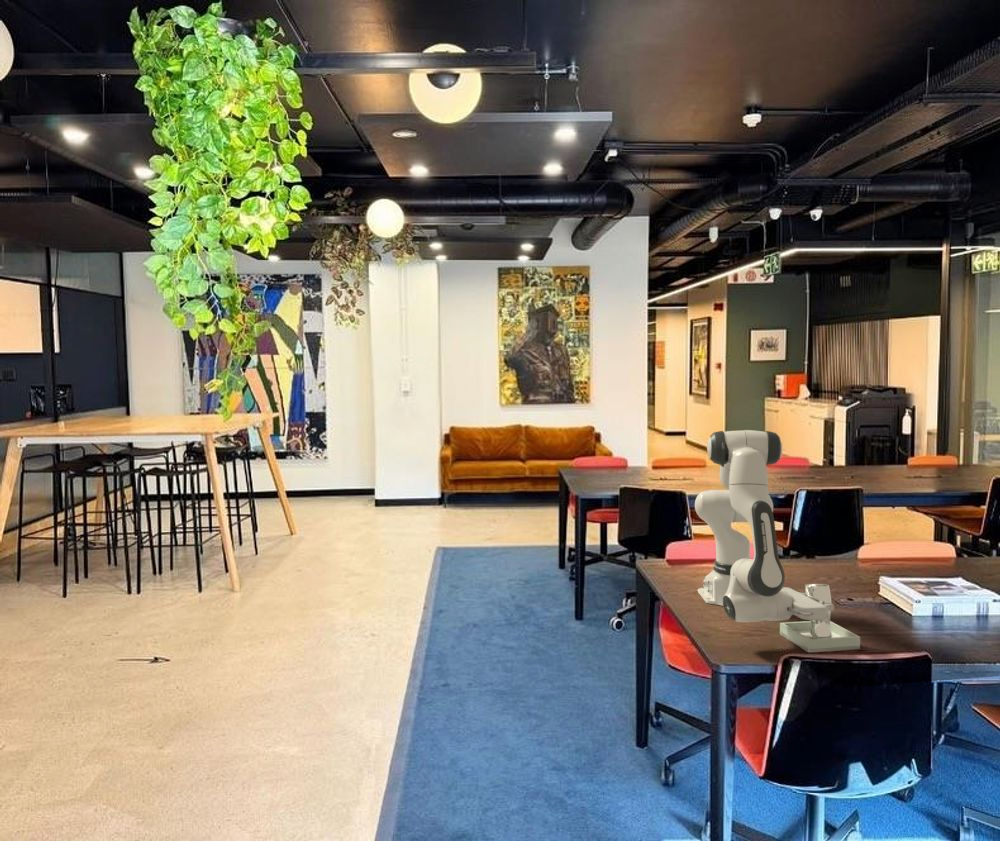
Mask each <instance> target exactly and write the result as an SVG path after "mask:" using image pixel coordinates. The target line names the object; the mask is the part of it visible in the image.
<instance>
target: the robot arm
mask: <svg viewBox="0 0 1000 841" xmlns="http://www.w3.org/2000/svg"><path fill="white" fill-rule="evenodd" d="M706 450H707V456H708V457H709V460H710V461H711V462H712V463H714V464H715V465H719V474H718V475H719V478H718V479H719V480H720V481H719V482H720V483H721V484H722V486H723V487H725V489H711V490H704V491H701V492H699V493H698V494H697V495H696V498H695V501H694V510H695V513H696V515H697V516H698V517H699V518H700V519H701V520H702V521H704V522H705V523H706V524H707V525H708V527H709V528H710V530H711V531H712V533H713V536H714V539H715V540H714V541H715V559H713V569H712V571H710V572H709V573H708V574H707V575H706V576H705V577H704V579H703V580H702V586H703V587H699V588H697V591H698V592H697V593H698V594H699V595H700V597H701V598H702V599H703V601H705V602H704V603H706V604H710V605H711V604H712V605H718V606H722V608H723V609H724V612H725V613H726V615H727V617H729V618H730V619H731V620H732V621H733V622H737V623H758V622H762V621H769V622H776V621H788V620H790V618H791V617H792V616H793V615H794V616H796V617H797V618H800V619H802V620H805V621H806V620H807V621H810V620H824V619H826V618H827V612H828V611H831V612H833V611H834V610H835V604H833V603H832V602H831V603H826V604H825V605H823V604H821V603H819V602H817V601H815V600H813V599H811V598H809V597H807V596H805V592H799V591H797V590H794V588H793V589H792V588H791V587H787V586H784V585H785V583H786V582H785V581H786V574H785V571H784V570H785V569H784V567H783V565H782V562H781V560H780V557H779V551H778V542H777V540H778V539H777V533H776V524H775V517H774V514H773V513H774V503H773V499H772V498H771V496H770V495H769V494H770V492H769V477H768V469H767V466H771V465H775V464H777V463H778V462H779V461H780V459H781V456H782V453H783V444H782V440H781V437H780V436H779V435H778V434H777V433H776V432H773V431H769V430H766V431H762V430H761V431H760V430H754V429H753V430H751V429H744V430H726V431H723V430H719V431H714V432H712V433H711V434H710V436H709V439H708V441H707V445H706ZM732 523H746V524H747V523H748V524H749V525H750V528H751V533H752V534H751V535H752V544H753V546H752V547H753V554H754V556H753V558H750V554H751V549H750V548H751V543H750V539H749V538H748V537H747V536H746V535H745V534H743V533H742V532H739V531H738V530H736V529H733V527H732Z"/></svg>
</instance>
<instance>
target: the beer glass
mask: <svg viewBox="0 0 1000 841" xmlns="http://www.w3.org/2000/svg"><path fill="white" fill-rule="evenodd" d="M804 587H805V588H804V590H805V592H804V593H805V596H807V597H809V598H811V599H813V600H815V601H817V602H819V603H821V604H823V605H825V604H826V603H831V604H832V596H831V590H830V585H829V584H825V583H807V584H804ZM831 614H832V611H828V612H827V618H826V619H824V620H809V621H810V623H811V631H810V637H811V638H815V639H820V638H833V636H832V632H831V628H830V621H831V616H832V615H831Z"/></svg>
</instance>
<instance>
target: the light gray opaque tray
mask: <svg viewBox="0 0 1000 841" xmlns="http://www.w3.org/2000/svg"><path fill="white" fill-rule="evenodd" d="M830 628H831V632H832V636H833V638H820V639H815V638H811V637H810V631H811V623H810V620H807V621H806V620H805V621H804V620H803V621H789V622H780V623H779V636H780V635H781V636H782V637H784V638H785V639H787V640H788V641H790V642H791V643H793V644H794V645H796V646H798V648H801V649H802V650H803V651H805V652H807V653H820V652H836V651H837V652H838V651H850V650H851V651H853V650H861V636H859V635H858V634H855V633H853V631H850V630H848V629H846V628H844V627H842V626H841V625H840V624H836V623H835V622H833V621H831V620H830Z"/></svg>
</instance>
